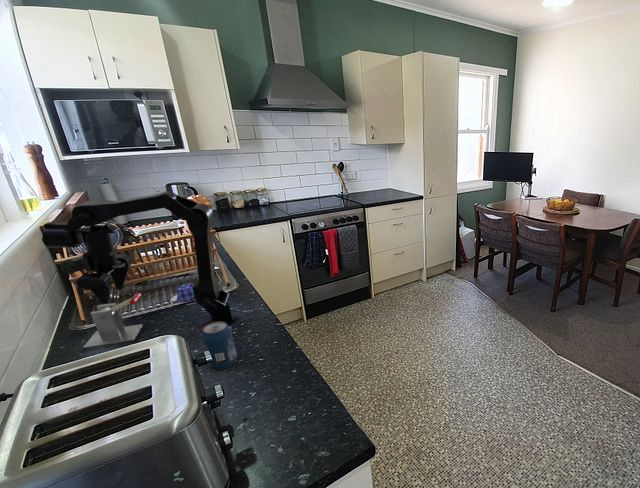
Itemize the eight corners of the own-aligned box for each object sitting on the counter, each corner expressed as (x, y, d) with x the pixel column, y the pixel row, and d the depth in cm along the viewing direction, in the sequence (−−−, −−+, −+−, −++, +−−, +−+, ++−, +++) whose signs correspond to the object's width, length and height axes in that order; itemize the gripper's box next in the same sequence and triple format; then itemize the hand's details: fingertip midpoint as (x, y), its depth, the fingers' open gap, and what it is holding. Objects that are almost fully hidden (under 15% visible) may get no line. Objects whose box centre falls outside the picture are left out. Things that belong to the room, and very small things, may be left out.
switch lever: (143, 296, 107) (137, 290, 106) (138, 304, 103) (131, 298, 101) (107, 314, 105) (101, 308, 104) (100, 322, 101) (93, 317, 100)
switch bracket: (144, 327, 112) (133, 297, 108) (134, 342, 105) (122, 312, 100) (97, 333, 108) (84, 303, 104) (84, 350, 101) (69, 319, 96)
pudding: (204, 288, 137) (201, 276, 135) (212, 300, 129) (209, 287, 127) (168, 297, 130) (164, 285, 128) (174, 310, 122) (170, 297, 120)
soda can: (211, 357, 100) (201, 322, 95) (238, 352, 102) (230, 318, 97) (208, 373, 94) (198, 336, 89) (237, 367, 97) (228, 331, 92)
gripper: (80, 236, 102) (94, 283, 108) (40, 259, 86) (59, 314, 92) (127, 236, 106) (137, 282, 112) (97, 259, 90) (111, 311, 96)
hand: (112, 296), depth 103 cm, fingers open, 9 cm apart
